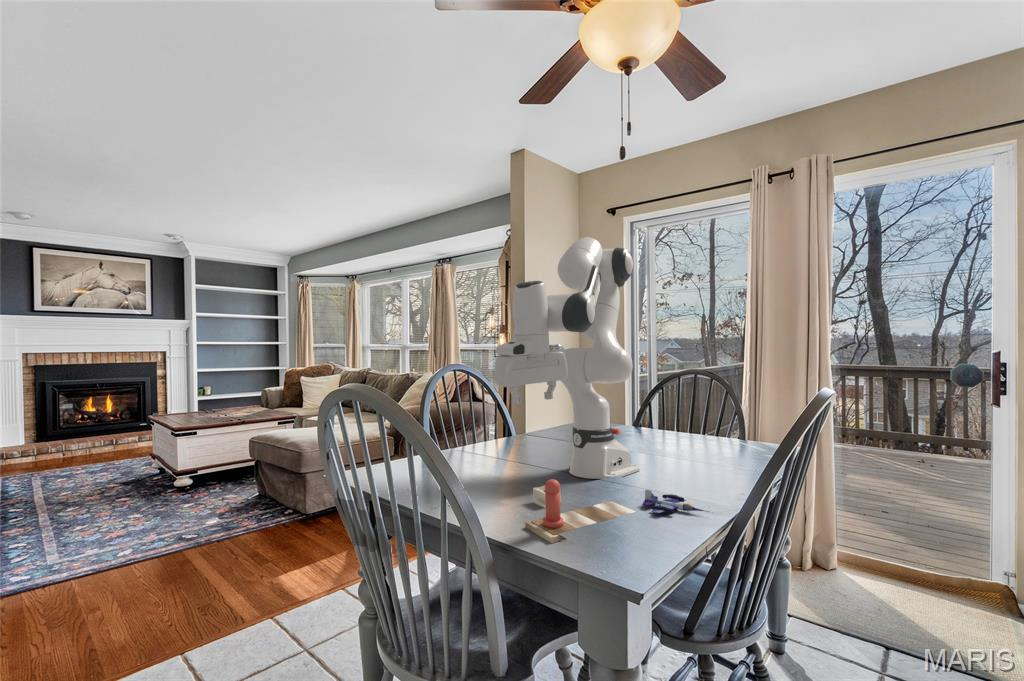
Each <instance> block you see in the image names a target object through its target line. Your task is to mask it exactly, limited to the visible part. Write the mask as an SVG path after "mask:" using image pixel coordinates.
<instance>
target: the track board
mask: <svg viewBox="0 0 1024 681" xmlns="http://www.w3.org/2000/svg"><path fill="white" fill-rule="evenodd" d="M634 513H637V511H636V510H633V509H631V508H630V507H629V508H628V507H626V506H623V505H621V504H619V503H616V502H614V501H612V500H610V501H606V502H602V503H598V504H594V505H589V506H586V507H582V508H577V509H574V510H569V511H565V512H560V517H562V518H563V526H562V527H561V528H556V529H551V528H546V527H544V526H543V518H544V517H542V518H537V519H532V520H528V521H525V522H524V526H525V527H526V528H525V529H527V530H528V531H530V532H532V533H533V534H535V535H537V536H539V537H541V538H542V539H544V540H545V541H547V542H549V543H550V544H555V543H558V542H561V541H565V540H567V538H566V537H564V536H562V535H560V534H562V533H565V532H568V531H572V530H575V529H579V528H583V527H587V526H590V525H594V524H597V523H602V522H604V521H608V520H612V519H615V518H619V517H623V516H627V515H630V514H634Z"/></svg>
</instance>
